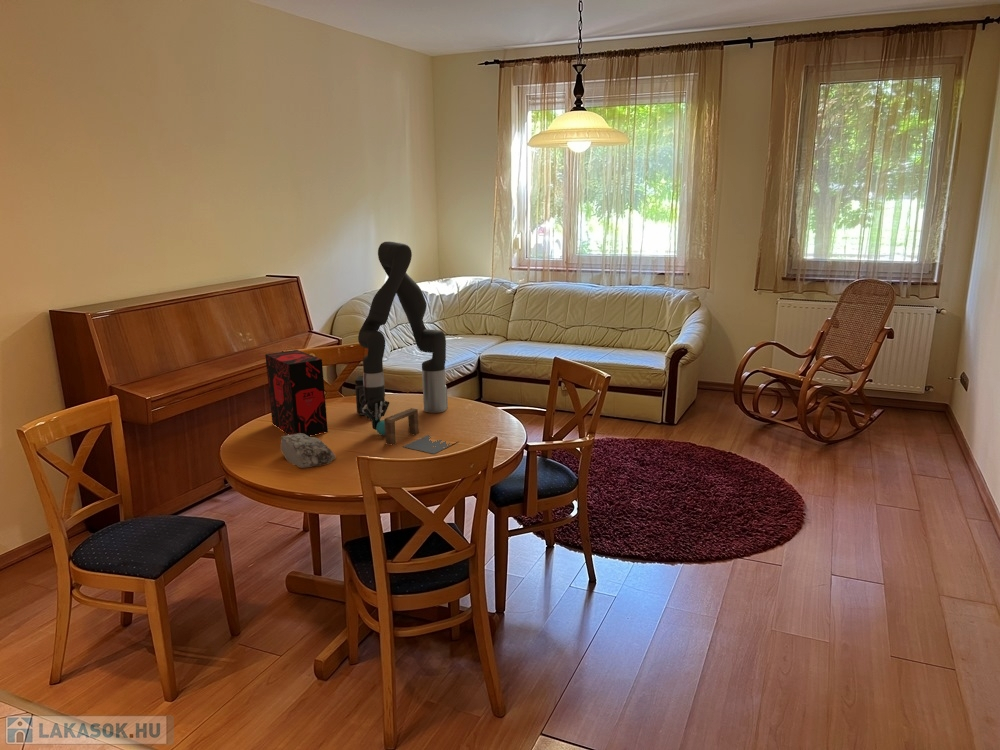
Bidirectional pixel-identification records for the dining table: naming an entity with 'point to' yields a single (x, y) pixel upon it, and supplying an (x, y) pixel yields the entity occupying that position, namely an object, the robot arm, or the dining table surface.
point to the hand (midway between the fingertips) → (376, 429)
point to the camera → (360, 394)
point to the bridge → (390, 421)
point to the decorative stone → (305, 450)
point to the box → (297, 392)
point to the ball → (381, 427)
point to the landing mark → (427, 445)
